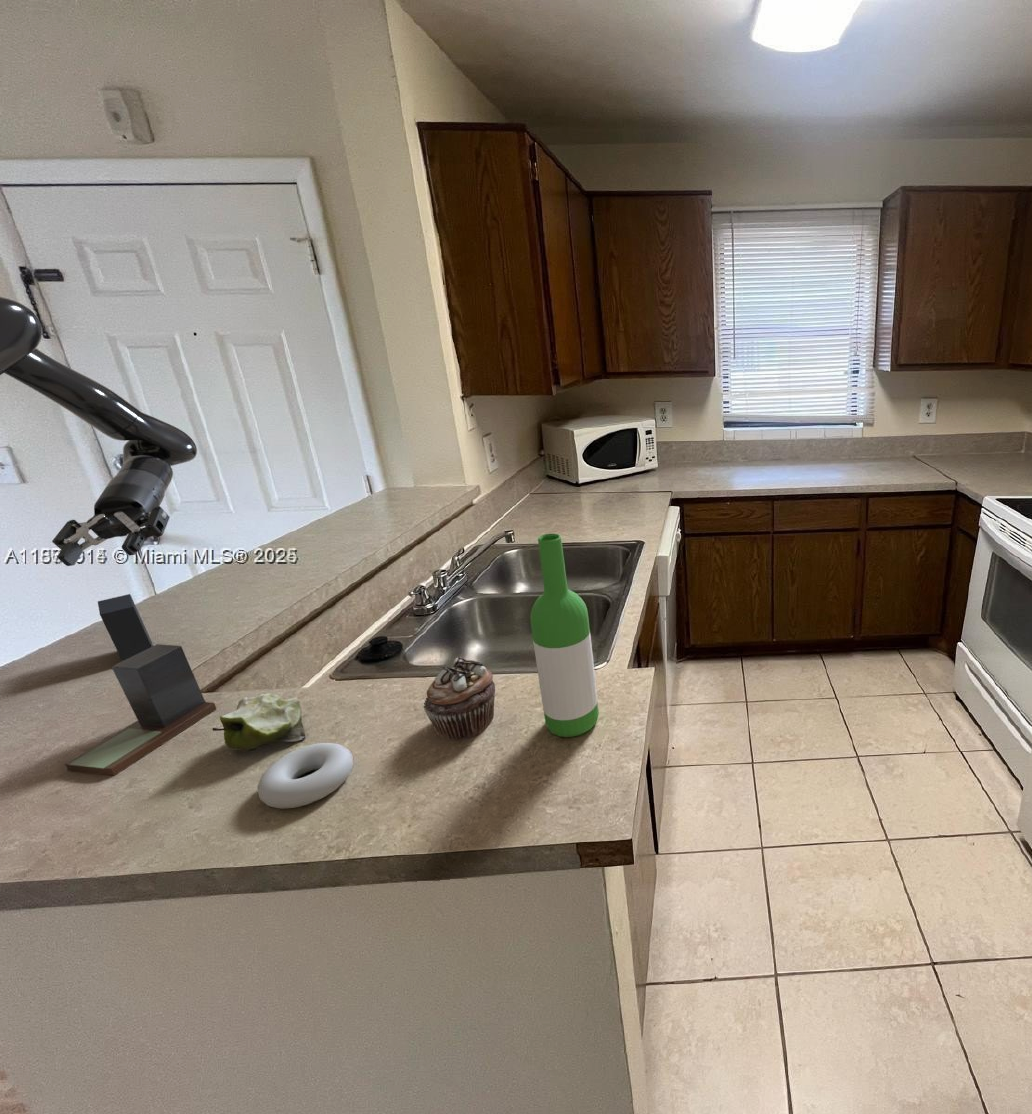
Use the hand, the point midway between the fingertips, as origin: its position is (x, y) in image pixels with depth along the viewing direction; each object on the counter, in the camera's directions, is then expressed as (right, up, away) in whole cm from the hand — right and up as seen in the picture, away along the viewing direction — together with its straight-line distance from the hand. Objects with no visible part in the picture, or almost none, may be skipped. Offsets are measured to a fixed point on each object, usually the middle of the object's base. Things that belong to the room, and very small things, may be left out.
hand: (97, 557), depth 96 cm
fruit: (+41, -26, -14) cm, 51 cm away
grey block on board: (+24, -26, -14) cm, 38 cm away
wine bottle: (+84, -25, -10) cm, 88 cm away
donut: (+53, -30, -22) cm, 65 cm away
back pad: (+1, -17, +5) cm, 18 cm away
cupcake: (+68, -25, -10) cm, 73 cm away
